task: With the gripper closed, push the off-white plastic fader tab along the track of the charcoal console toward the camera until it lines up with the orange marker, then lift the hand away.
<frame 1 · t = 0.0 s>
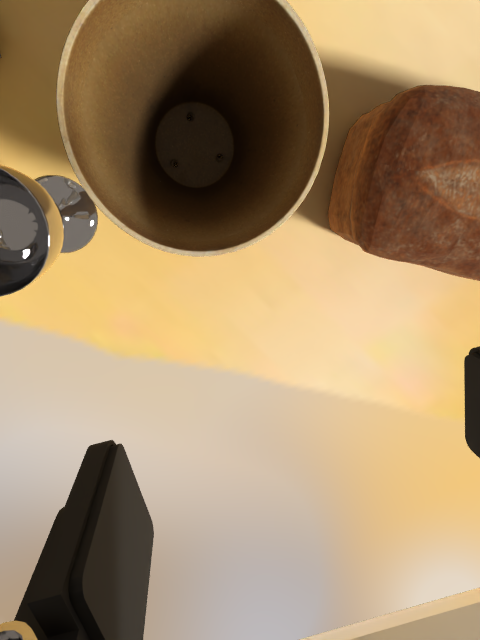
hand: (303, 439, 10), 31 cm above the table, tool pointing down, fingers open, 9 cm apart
bread: (447, 199, 41), on the table
wine glass: (59, 215, 37), on the table
plant pot: (195, 150, 36), on the table
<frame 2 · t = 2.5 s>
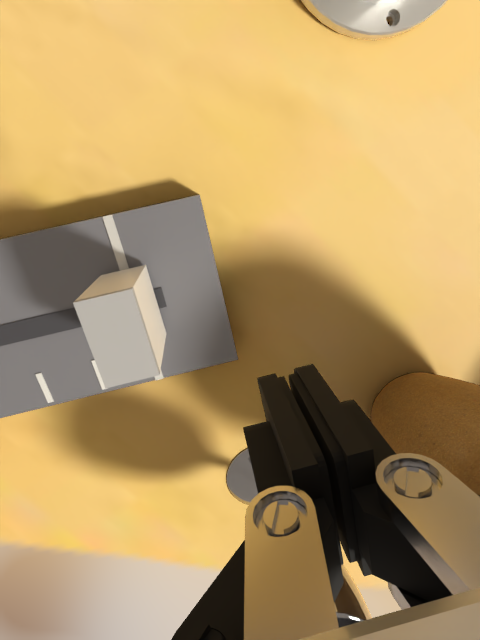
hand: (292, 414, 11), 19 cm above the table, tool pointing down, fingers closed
wine glass: (264, 474, 35), on the table
fader tab: (127, 320, 23), point 6 cm above the table, slide at 0.0 cm
plant pot: (407, 409, 35), on the table
console: (17, 324, 28), on the table
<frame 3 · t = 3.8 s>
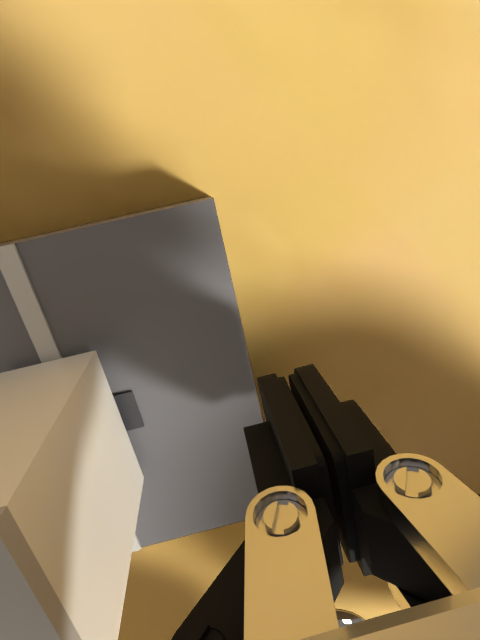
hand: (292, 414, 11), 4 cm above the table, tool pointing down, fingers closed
fader tab: (39, 507, 9), point 6 cm above the table, slide at 0.0 cm
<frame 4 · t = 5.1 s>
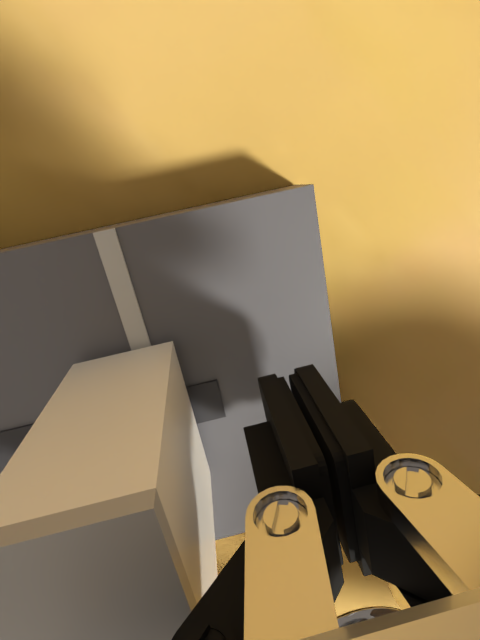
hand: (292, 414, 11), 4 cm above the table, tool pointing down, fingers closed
fader tab: (132, 498, 9), point 6 cm above the table, slide at 0.5 cm, touching gripper
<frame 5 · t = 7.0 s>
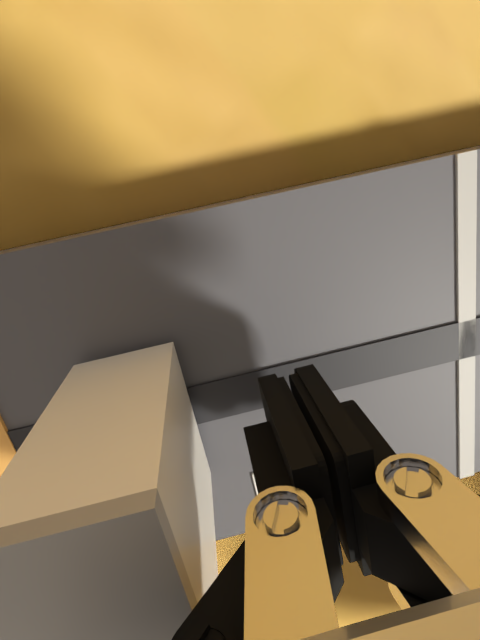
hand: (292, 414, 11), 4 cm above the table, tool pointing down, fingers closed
fader tab: (133, 498, 9), point 6 cm above the table, slide at 11.1 cm, touching gripper
console: (206, 373, 15), on the table
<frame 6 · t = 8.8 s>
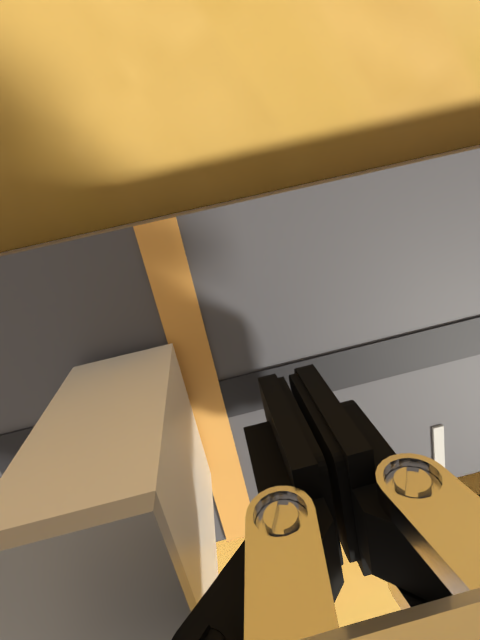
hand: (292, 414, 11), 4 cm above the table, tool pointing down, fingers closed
fader tab: (133, 500, 9), point 6 cm above the table, slide at 17.9 cm, touching gripper
console: (379, 332, 15), on the table
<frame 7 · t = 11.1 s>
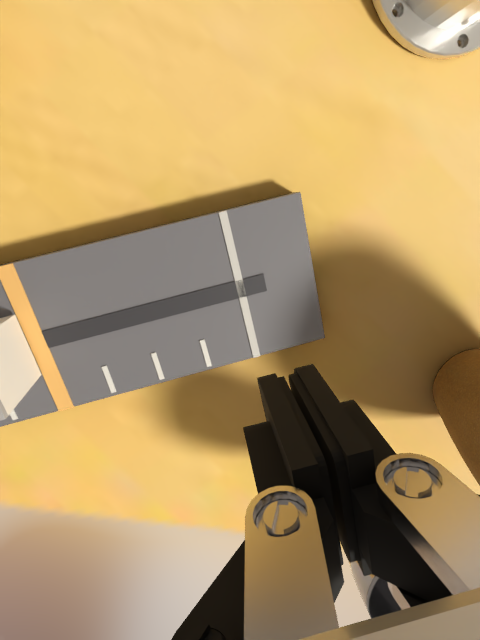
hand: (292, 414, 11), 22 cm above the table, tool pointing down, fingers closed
wine glass: (336, 447, 39), on the table
plant pot: (464, 384, 39), on the table
console: (131, 310, 32), on the table
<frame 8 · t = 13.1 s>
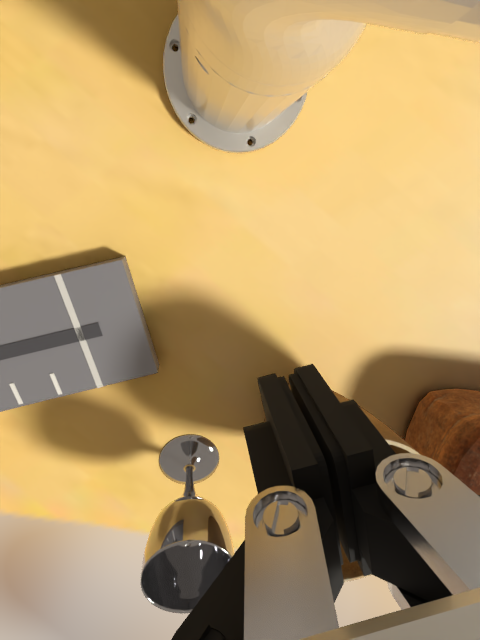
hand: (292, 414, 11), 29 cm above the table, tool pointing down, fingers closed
wine glass: (189, 458, 46), on the table
plant pot: (297, 409, 46), on the table
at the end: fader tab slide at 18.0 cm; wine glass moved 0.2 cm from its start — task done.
